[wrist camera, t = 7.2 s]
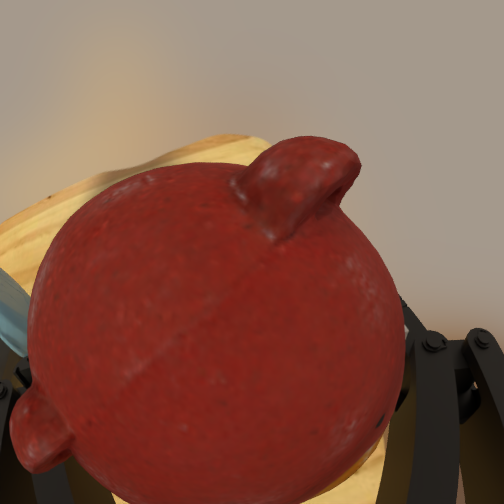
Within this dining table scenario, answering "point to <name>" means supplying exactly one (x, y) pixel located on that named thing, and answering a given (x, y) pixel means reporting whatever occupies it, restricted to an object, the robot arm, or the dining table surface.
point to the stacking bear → (214, 334)
